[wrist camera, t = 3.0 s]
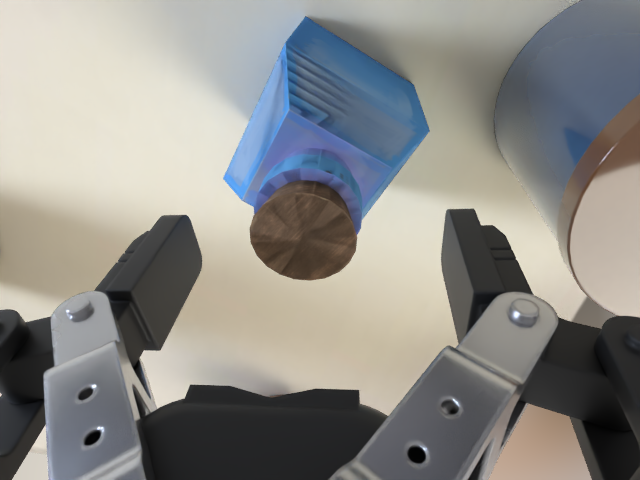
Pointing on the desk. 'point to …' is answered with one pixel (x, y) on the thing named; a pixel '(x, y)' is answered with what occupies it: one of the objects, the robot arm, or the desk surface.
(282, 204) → the perfume bottle
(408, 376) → the desk surface
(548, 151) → the jar
